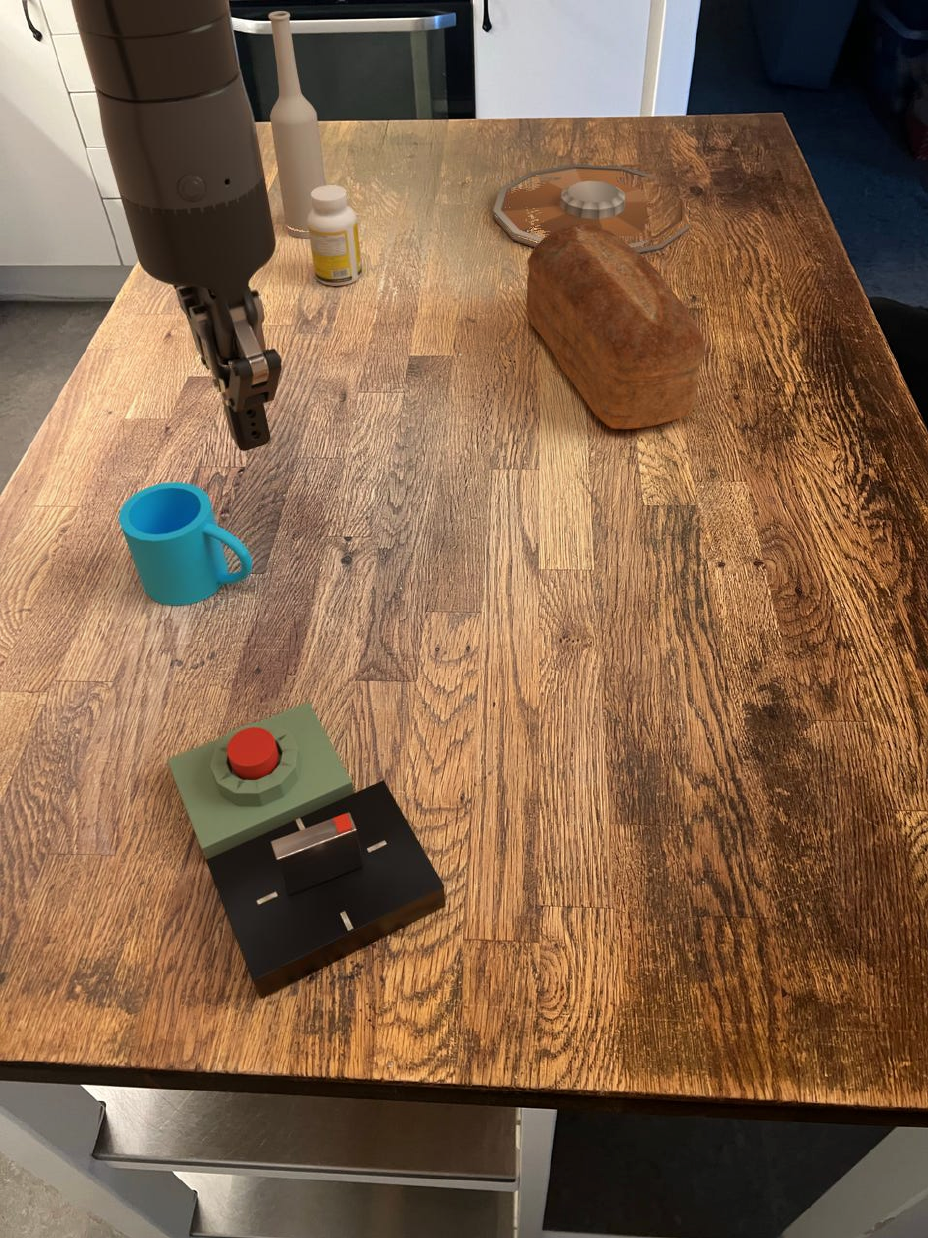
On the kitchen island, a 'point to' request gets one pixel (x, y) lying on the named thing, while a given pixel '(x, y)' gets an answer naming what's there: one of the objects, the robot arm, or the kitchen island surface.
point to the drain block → (260, 782)
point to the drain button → (252, 753)
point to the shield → (579, 204)
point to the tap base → (326, 893)
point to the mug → (179, 544)
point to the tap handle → (318, 853)
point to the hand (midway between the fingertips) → (251, 441)
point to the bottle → (294, 134)
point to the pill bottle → (334, 237)
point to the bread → (614, 327)
